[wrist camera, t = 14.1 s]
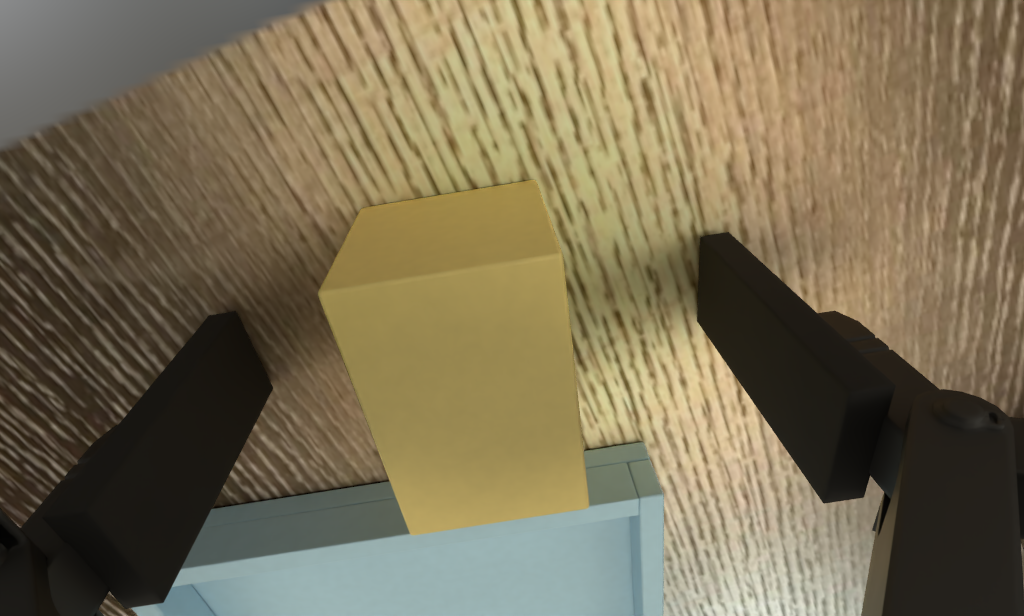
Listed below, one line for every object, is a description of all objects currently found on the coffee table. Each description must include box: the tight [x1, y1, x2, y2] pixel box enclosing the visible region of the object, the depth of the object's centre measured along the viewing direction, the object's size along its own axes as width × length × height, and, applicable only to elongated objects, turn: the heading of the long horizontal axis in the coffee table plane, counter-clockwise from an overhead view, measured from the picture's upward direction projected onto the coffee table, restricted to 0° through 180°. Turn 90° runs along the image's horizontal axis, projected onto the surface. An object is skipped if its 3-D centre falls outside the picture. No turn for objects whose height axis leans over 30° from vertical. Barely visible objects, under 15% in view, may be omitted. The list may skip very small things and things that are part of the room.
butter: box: [318, 180, 589, 536], centre depth 13 cm, size 7×4×4 cm, turn 8°
